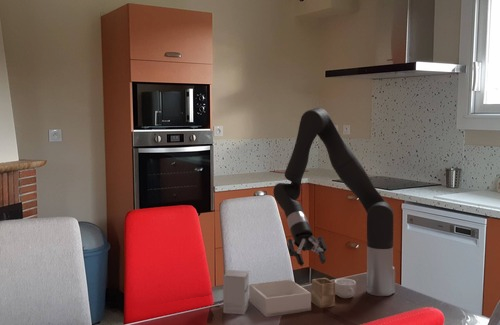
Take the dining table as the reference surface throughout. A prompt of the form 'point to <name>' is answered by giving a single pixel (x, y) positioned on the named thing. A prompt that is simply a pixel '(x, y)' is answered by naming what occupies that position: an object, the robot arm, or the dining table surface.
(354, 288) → the teacup
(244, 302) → the supplement box
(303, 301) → the big plastic crate
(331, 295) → the small wooden crate
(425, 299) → the dining table surface
